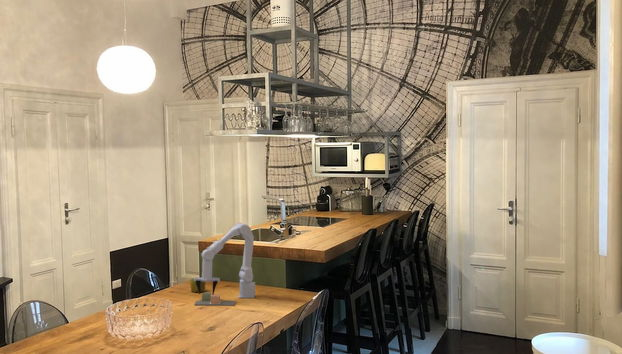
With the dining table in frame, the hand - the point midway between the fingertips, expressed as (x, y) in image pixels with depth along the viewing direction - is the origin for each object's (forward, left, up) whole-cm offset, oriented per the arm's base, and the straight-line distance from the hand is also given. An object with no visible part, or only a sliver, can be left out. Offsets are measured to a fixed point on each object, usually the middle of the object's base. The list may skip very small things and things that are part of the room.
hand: (206, 293), depth 295 cm
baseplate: (-6, +8, -4) cm, 11 cm away
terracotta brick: (-6, +8, -3) cm, 10 cm away
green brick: (0, 0, -4) cm, 4 cm away
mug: (+8, -23, -4) cm, 25 cm away
